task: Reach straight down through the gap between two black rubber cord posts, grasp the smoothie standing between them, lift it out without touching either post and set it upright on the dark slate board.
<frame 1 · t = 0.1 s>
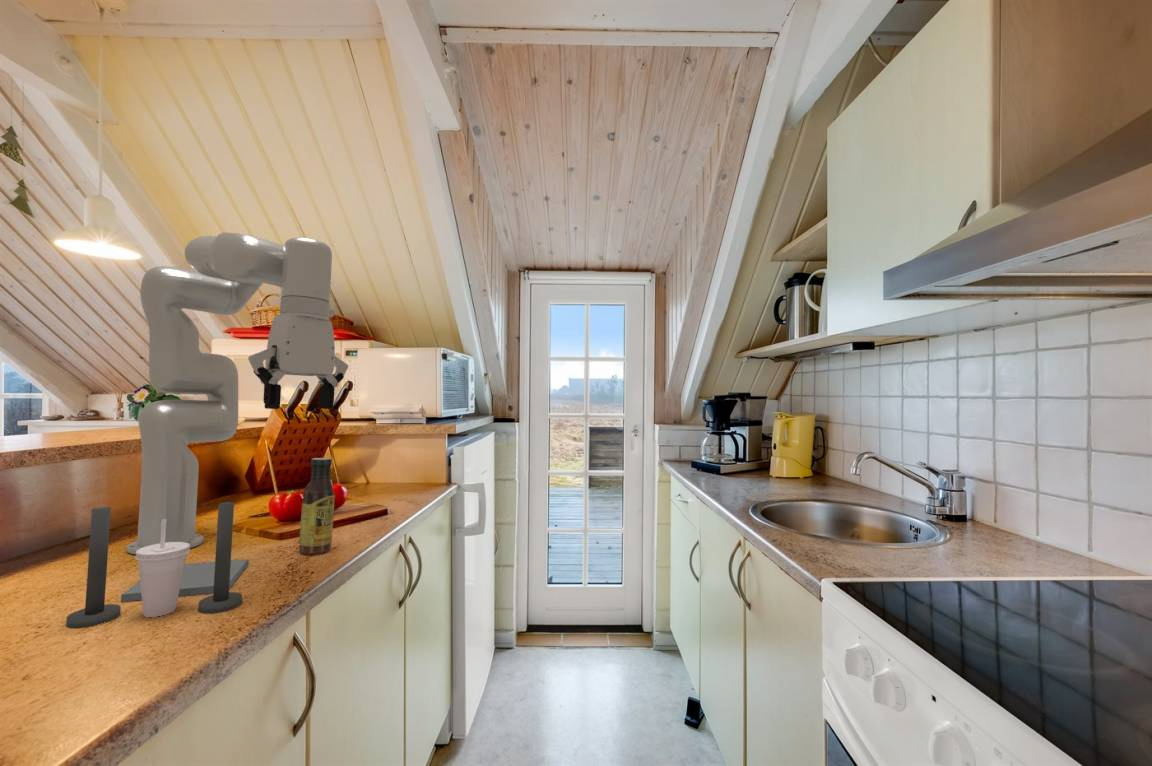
hand: (300, 408, 84), 31 cm above the worktop, tool pointing down, fingers open, 9 cm apart
smoothie: (159, 613, 73), on the worktop
slate board: (191, 581, 86), on the worktop
cord post 2: (220, 605, 76), on the worktop
sauce bottle: (315, 552, 104), on the worktop
cord post 1: (93, 619, 71), on the worktop
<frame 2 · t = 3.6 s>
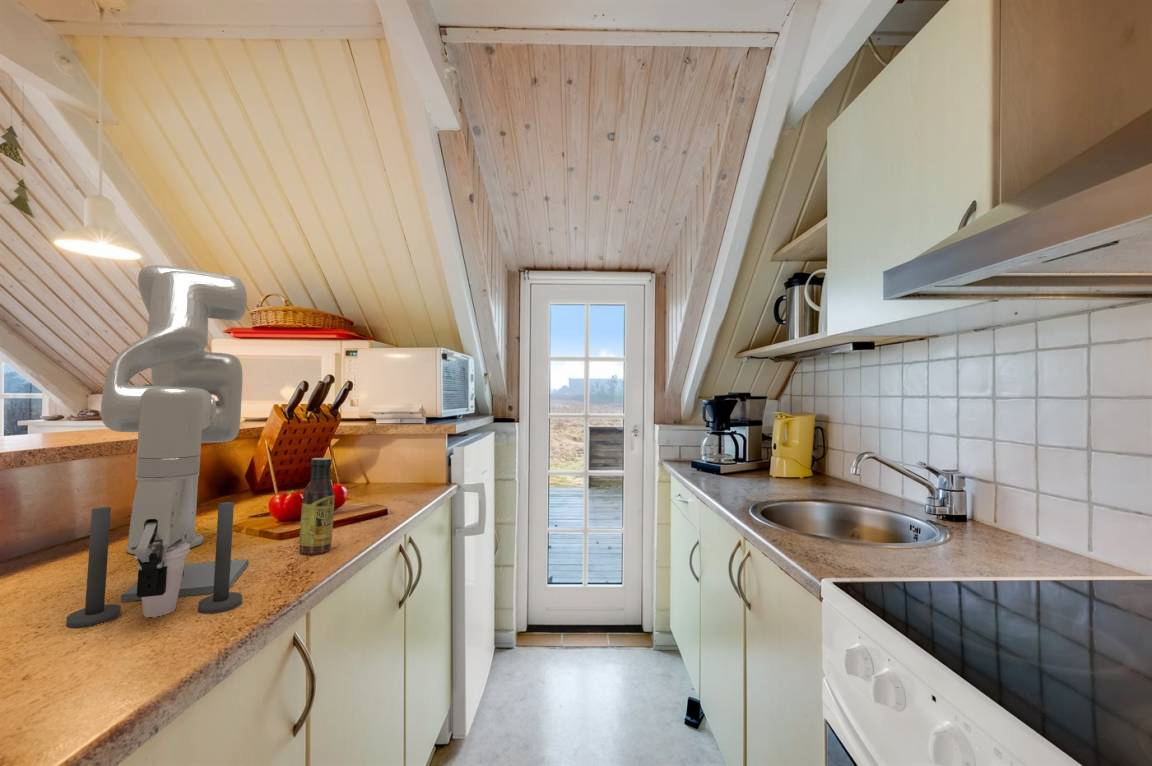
hand: (161, 585, 74), 4 cm above the worktop, tool pointing down, fingers closed on smoothie, 6 cm apart
smoothie: (159, 613, 73), on the worktop, touching gripper
everything else where it was.
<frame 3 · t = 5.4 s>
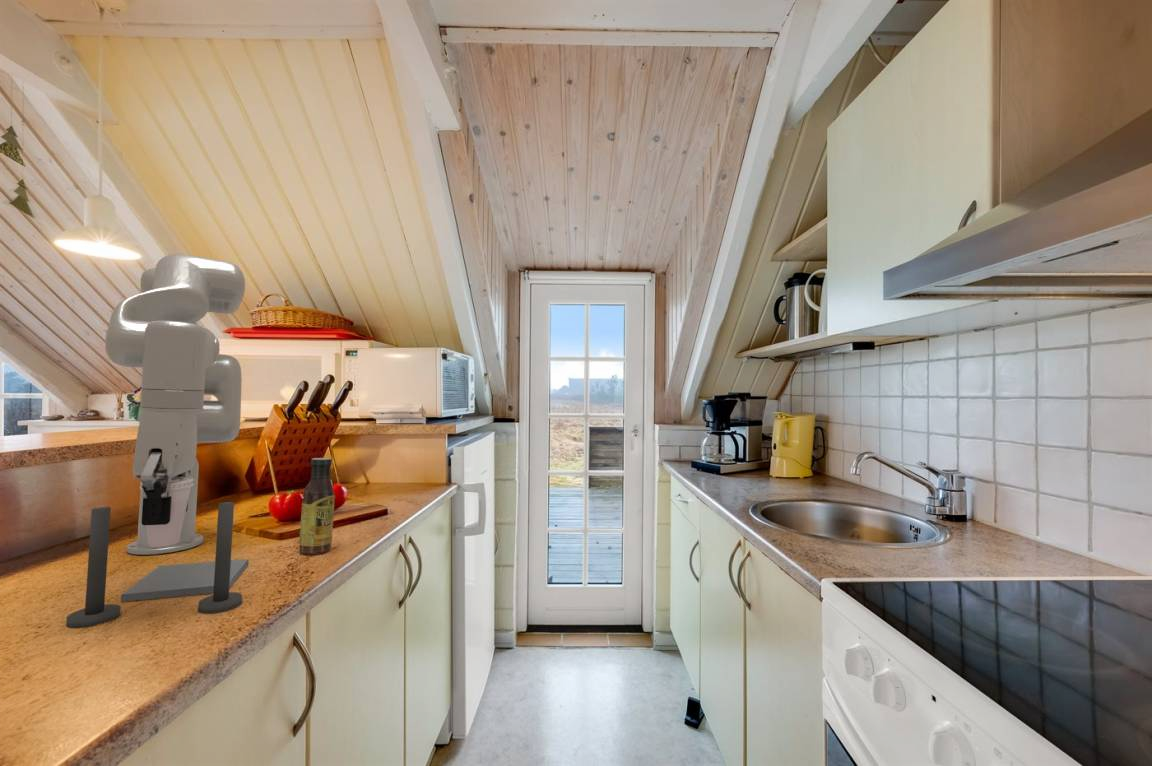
hand: (165, 517, 74), 14 cm above the worktop, tool pointing down, fingers closed on smoothie, 6 cm apart
smoothie: (163, 544, 74), point 10 cm above the worktop, touching gripper
everything else where it was.
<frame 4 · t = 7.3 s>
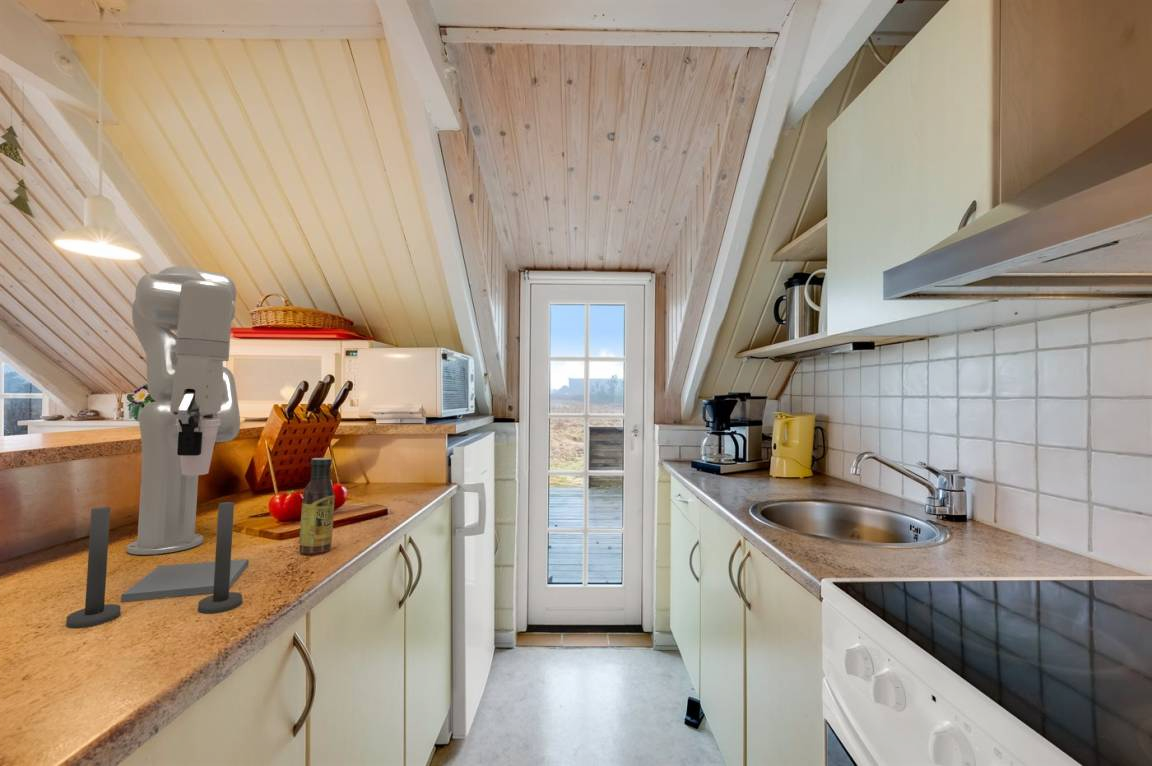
hand: (196, 451, 86), 23 cm above the worktop, tool pointing down, fingers closed on smoothie, 6 cm apart
smoothie: (195, 474, 86), point 19 cm above the worktop, touching gripper
everything else where it was.
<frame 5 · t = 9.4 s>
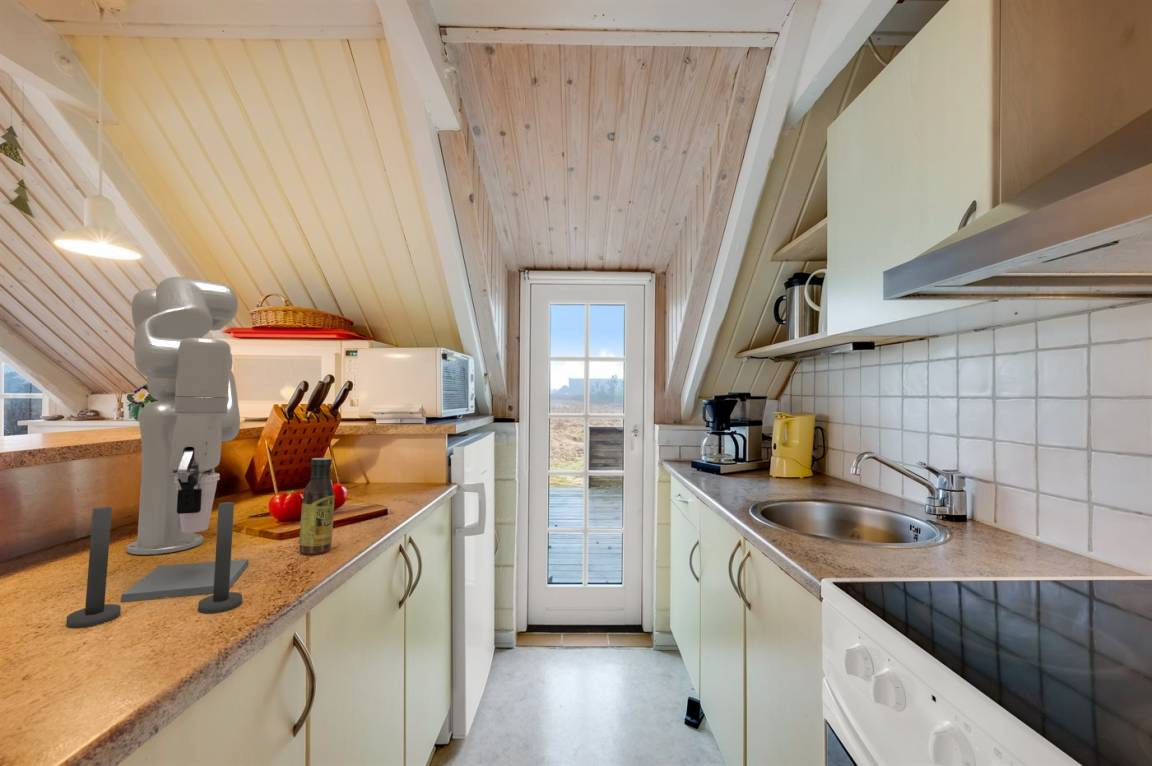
hand: (195, 507, 86), 13 cm above the worktop, tool pointing down, fingers closed on smoothie, 6 cm apart
smoothie: (194, 531, 86), point 9 cm above the worktop, touching gripper
everything else where it was.
when the fingers open (6 cm above the worktop, at t = 11.2 s): smoothie drops 1 cm, resting on slate board.
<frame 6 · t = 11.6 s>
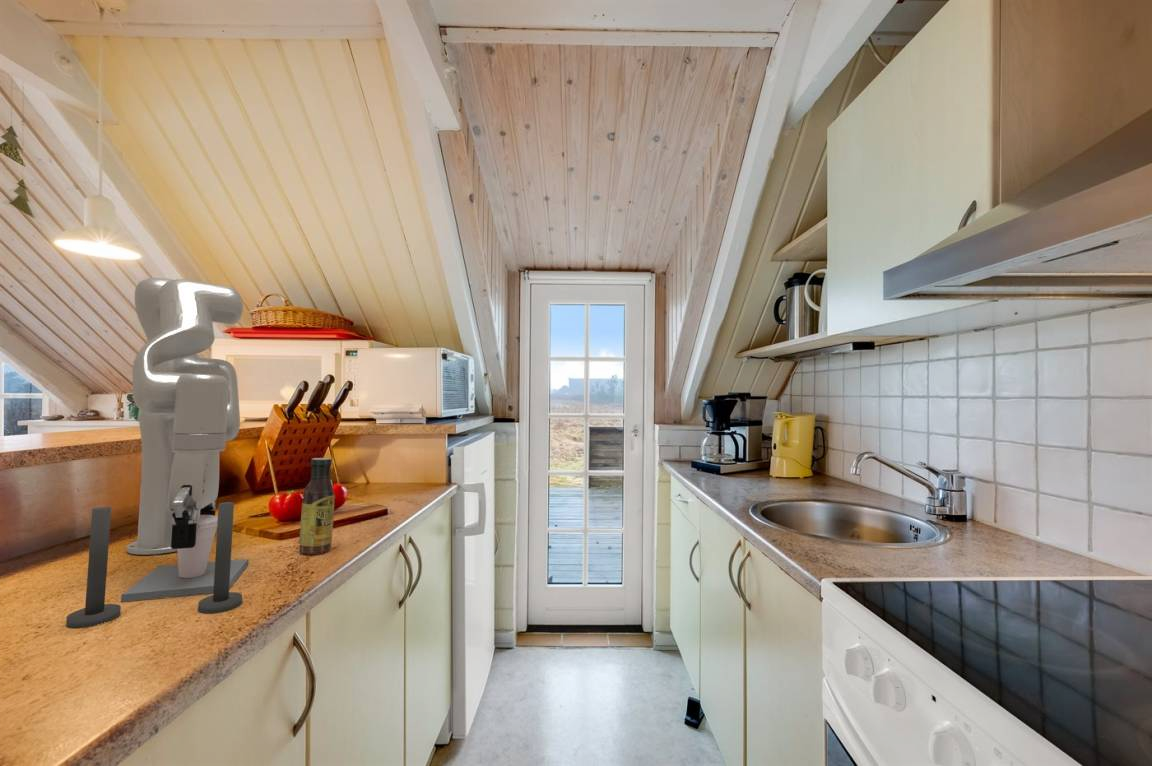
hand: (193, 539, 86), 7 cm above the worktop, tool pointing down, fingers open, 9 cm apart
smoothie: (191, 575, 86), point 1 cm above the worktop, touching slate board
everything else where it was.
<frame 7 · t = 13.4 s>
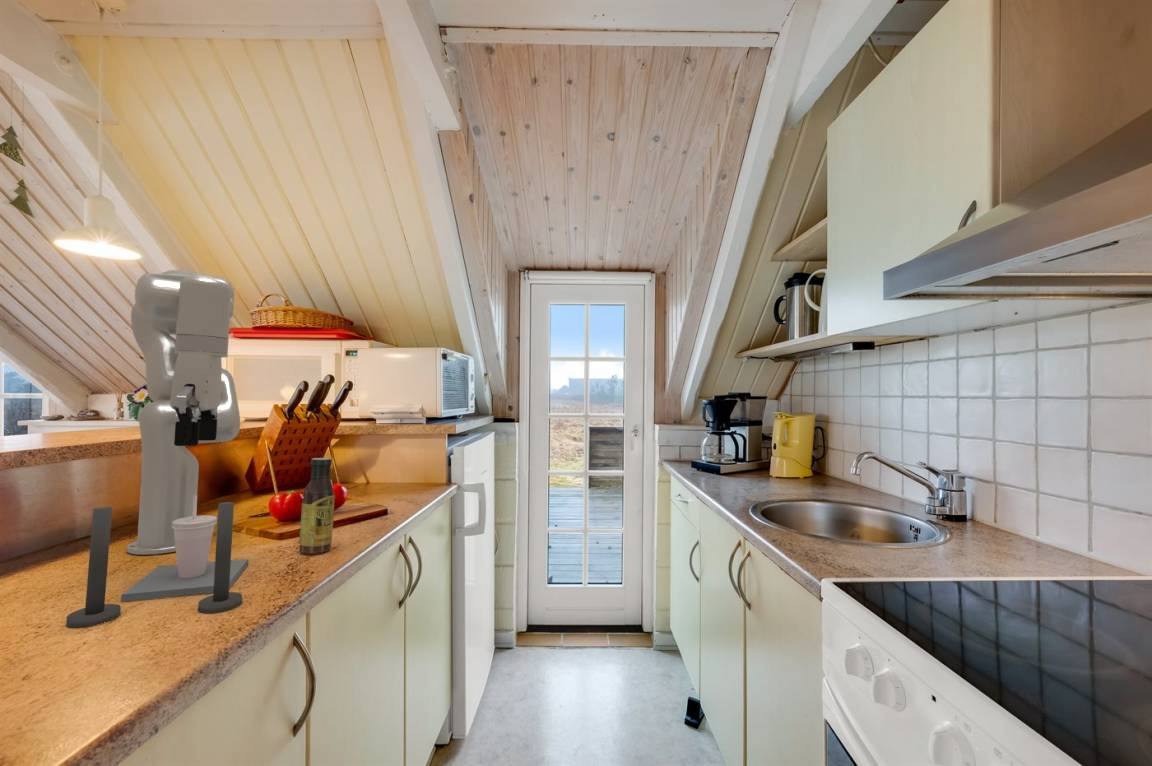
hand: (196, 442, 87), 24 cm above the worktop, tool pointing down, fingers open, 9 cm apart
nothing on the worktop moved.
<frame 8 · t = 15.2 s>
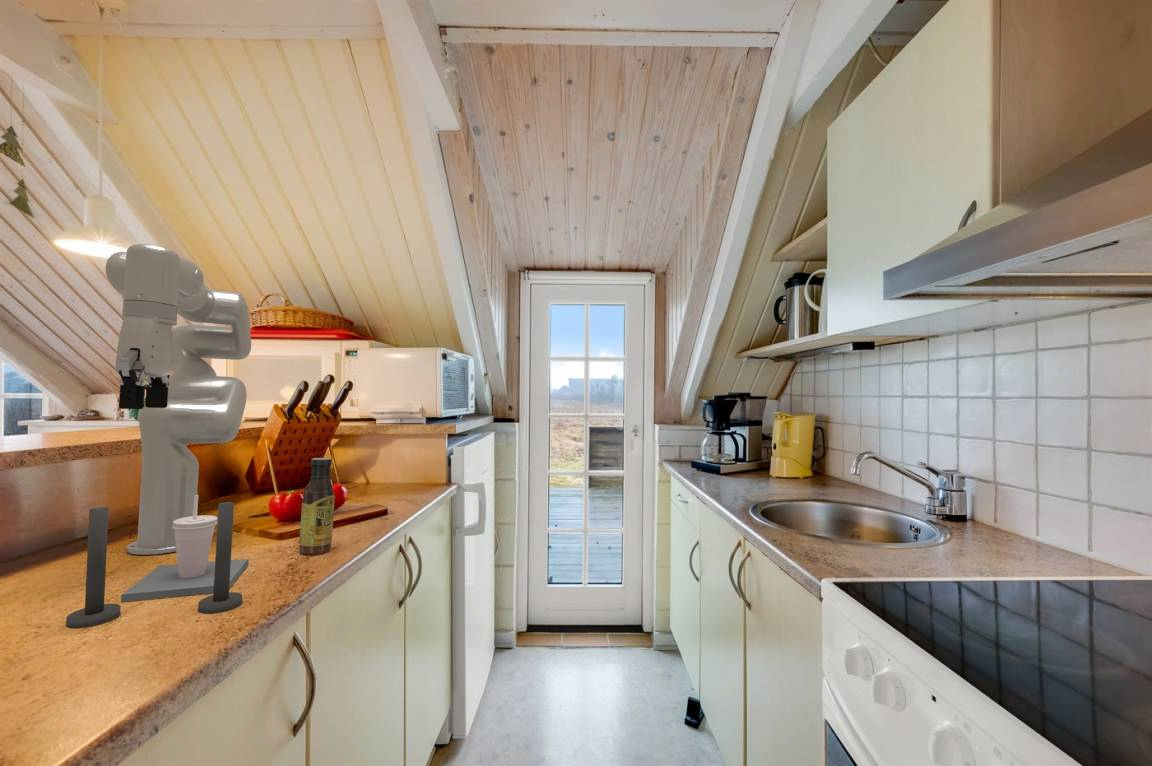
hand: (144, 408, 88), 30 cm above the worktop, tool pointing down, fingers open, 9 cm apart
nothing on the worktop moved.
at the end: smoothie inside the target area on the slate board (0.1 cm from its centre), point 1.0 cm above the slate board's base; cord post 2 moved 0.0 cm from its start; cord post 1 moved 0.0 cm from its start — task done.
